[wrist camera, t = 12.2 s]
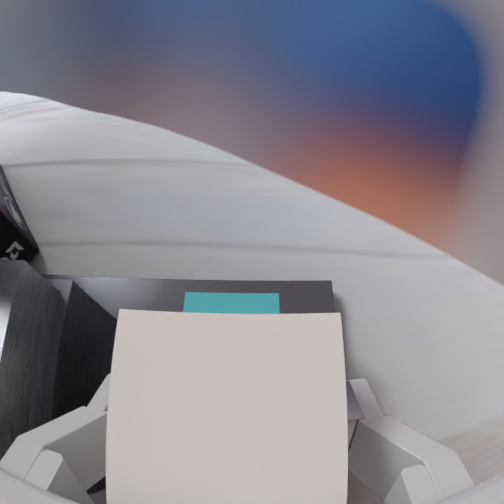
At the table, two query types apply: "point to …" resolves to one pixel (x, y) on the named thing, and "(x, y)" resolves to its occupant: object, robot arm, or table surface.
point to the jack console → (91, 335)
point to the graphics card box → (13, 228)
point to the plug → (227, 405)
